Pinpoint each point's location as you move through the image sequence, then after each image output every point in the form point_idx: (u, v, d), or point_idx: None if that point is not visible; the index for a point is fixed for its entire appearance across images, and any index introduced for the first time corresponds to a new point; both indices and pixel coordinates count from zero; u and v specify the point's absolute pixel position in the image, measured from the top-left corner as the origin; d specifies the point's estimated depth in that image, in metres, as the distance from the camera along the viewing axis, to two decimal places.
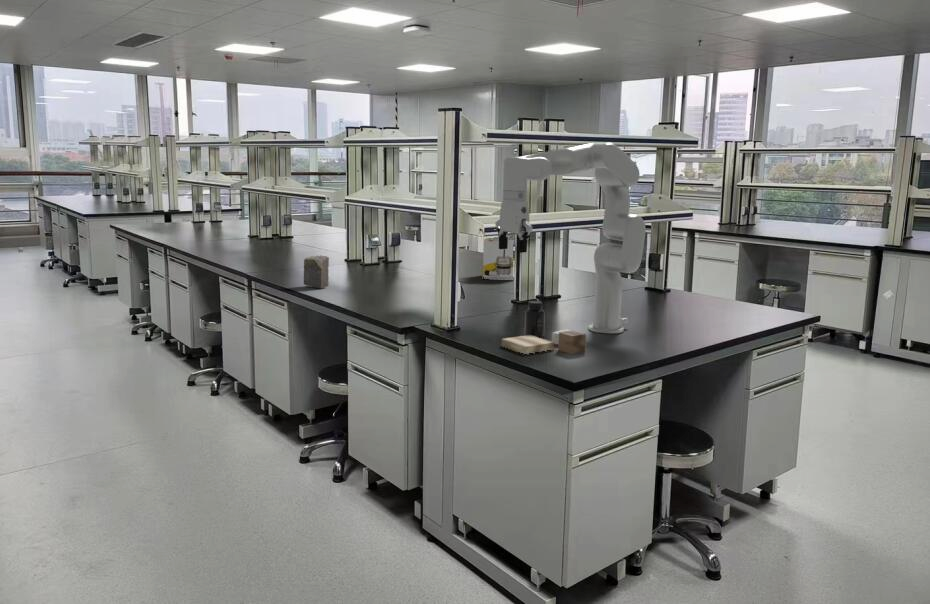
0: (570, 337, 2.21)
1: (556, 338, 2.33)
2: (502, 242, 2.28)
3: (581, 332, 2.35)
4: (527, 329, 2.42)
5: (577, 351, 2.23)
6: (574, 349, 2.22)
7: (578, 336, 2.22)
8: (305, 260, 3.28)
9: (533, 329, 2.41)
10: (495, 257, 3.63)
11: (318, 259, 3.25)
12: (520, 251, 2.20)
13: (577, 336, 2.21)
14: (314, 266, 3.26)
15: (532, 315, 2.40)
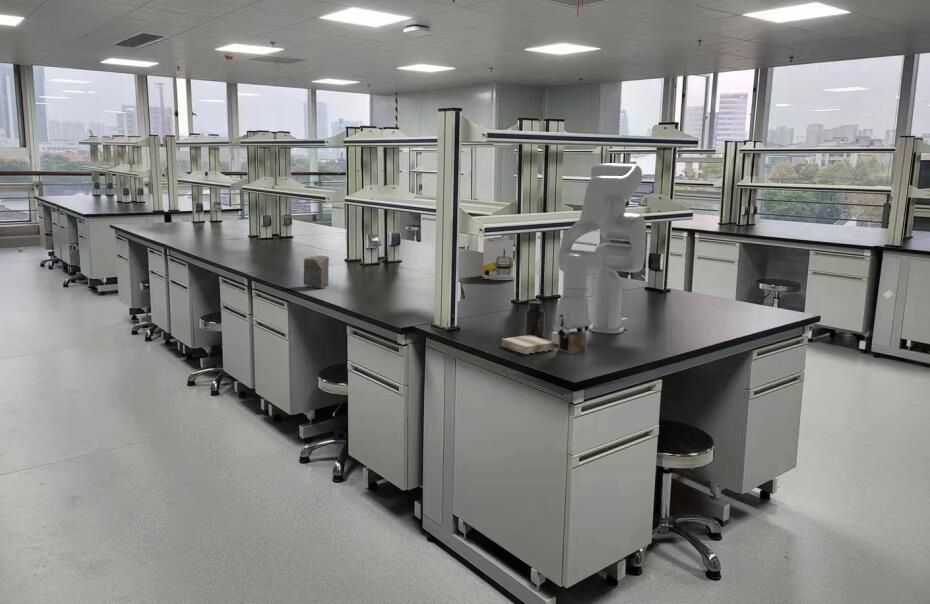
0: (570, 337, 2.21)
1: (555, 338, 2.33)
2: None
3: None
4: (527, 329, 2.42)
5: (577, 351, 2.23)
6: (574, 349, 2.22)
7: (578, 336, 2.22)
8: (305, 260, 3.28)
9: (533, 329, 2.41)
10: (495, 257, 3.63)
11: (318, 259, 3.25)
12: None
13: (577, 336, 2.21)
14: (314, 266, 3.26)
15: (532, 315, 2.40)
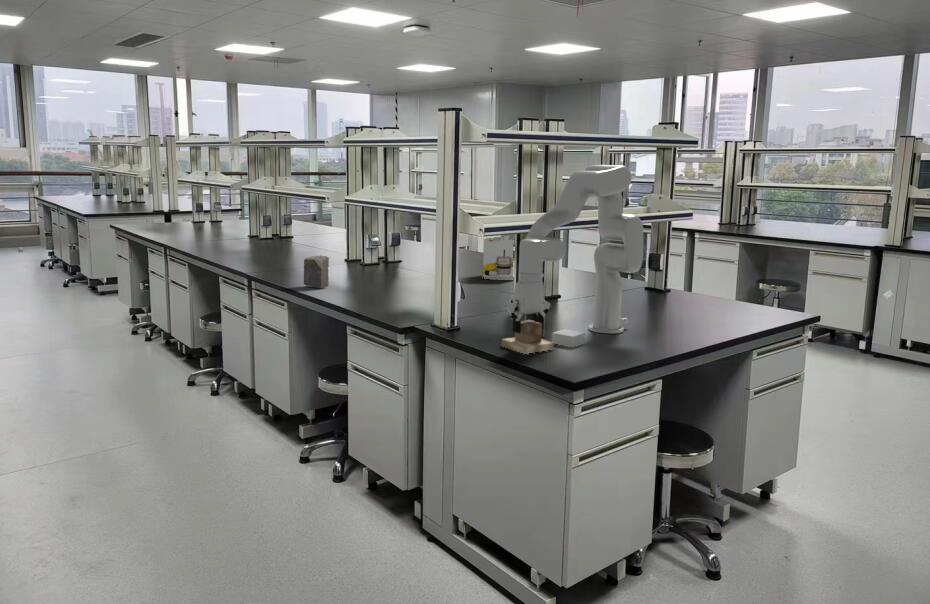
0: (526, 326, 2.23)
1: (556, 338, 2.33)
2: None
3: (581, 332, 2.36)
4: None
5: (533, 340, 2.25)
6: (530, 339, 2.24)
7: (534, 325, 2.24)
8: (305, 260, 3.28)
9: None
10: (495, 257, 3.63)
11: (318, 259, 3.25)
12: None
13: (533, 325, 2.23)
14: (314, 266, 3.26)
15: (532, 315, 2.40)
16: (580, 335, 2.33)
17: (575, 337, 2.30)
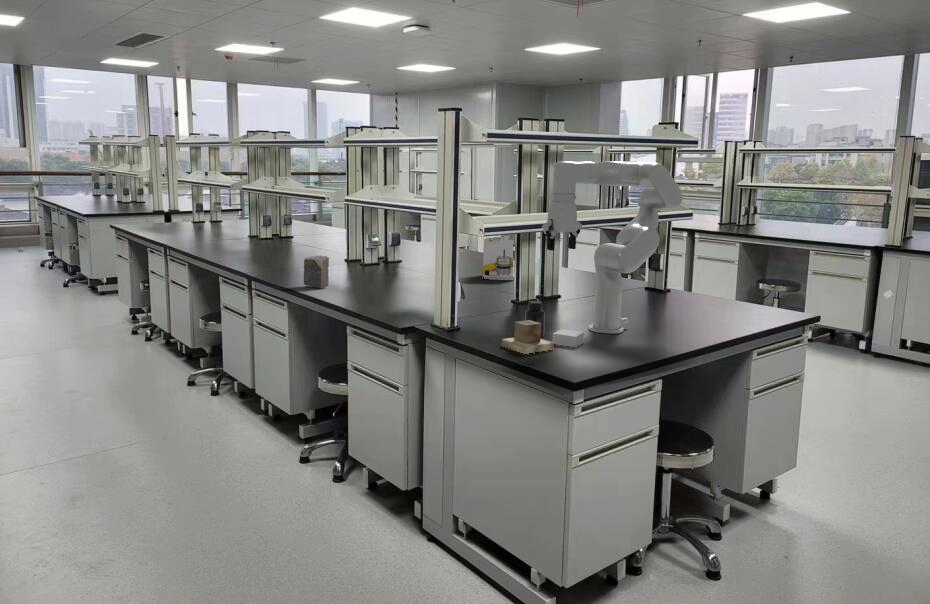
0: (525, 326, 2.23)
1: (557, 339, 2.32)
2: None
3: None
4: None
5: (532, 340, 2.25)
6: (529, 338, 2.24)
7: (533, 325, 2.24)
8: (305, 260, 3.28)
9: None
10: (495, 257, 3.63)
11: (318, 259, 3.25)
12: None
13: (532, 325, 2.24)
14: (314, 266, 3.26)
15: (532, 315, 2.40)
16: (580, 335, 2.33)
17: (577, 337, 2.31)
